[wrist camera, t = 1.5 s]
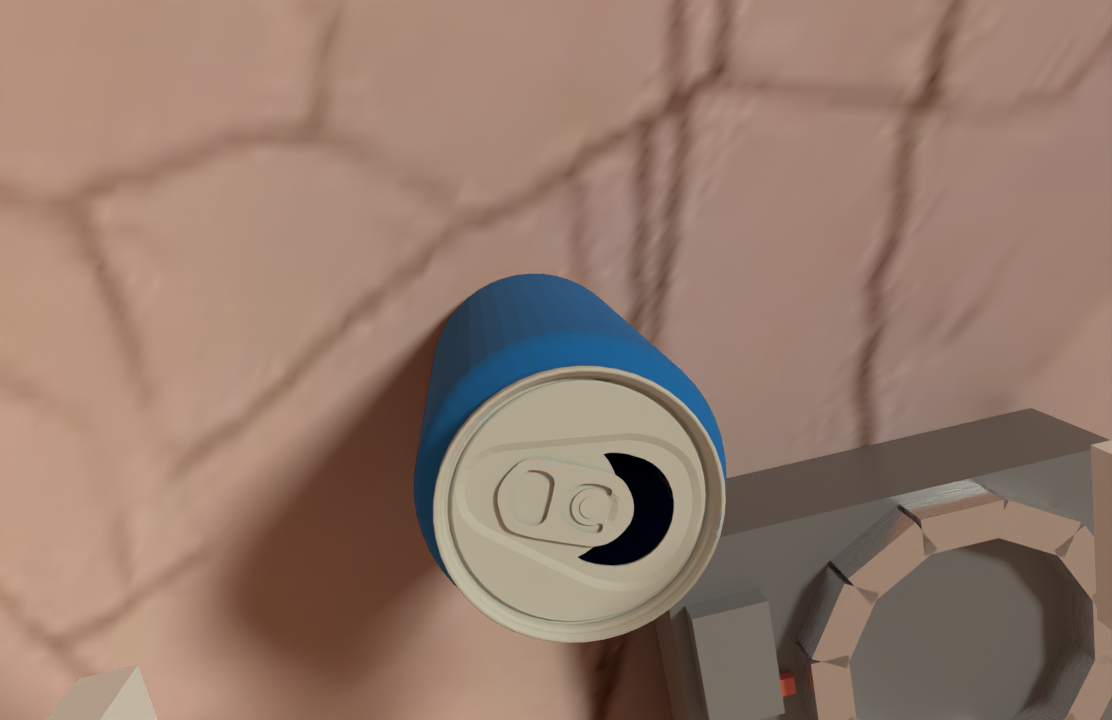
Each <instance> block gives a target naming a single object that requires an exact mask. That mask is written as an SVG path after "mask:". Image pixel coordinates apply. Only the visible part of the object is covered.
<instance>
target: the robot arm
mask: <svg viewBox="0 0 1112 720" xmlns="http://www.w3.org/2000/svg"><path fill="white" fill-rule="evenodd" d="M1091 470H1092V496H1093V522H1094V548H1095V574H1096V600H1097V620H1099V621H1100V622H1102V623H1103V624H1104V625H1106V626H1107V627H1109V628H1110V629H1111V630H1112V440H1110V441H1105V442H1101V443H1097V444H1092V445H1091ZM46 720H158V719H157V716H156V713H155V711H154V708H153V705H152V703H151V700H150V697H149V694H148V692H147V689H146V686H145V684H144V681H143V678H142V675H141V673H140V670H139V667H138V665H136V666H132V667H127V668H123V669H119V670H114V671H110V672H106V673H101V674H97V675H93V676H88V677H84V678H80V679H78V680H77V681H76V682H75V684H74V685H73V686H72V687H71V689H70V690H69V691H68V692H67V694H66V695H65V696H64V698H63V699H62V700H61V701H60V703H59V704H58V705H57V706H56V708H55V709H54V710H53V712H52V713H51V714H50V715H49V717H48V718H47V719H46Z"/></svg>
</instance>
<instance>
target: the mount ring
mask: <svg viewBox="0 0 1112 720" xmlns="http://www.w3.org/2000/svg"><path fill="white" fill-rule="evenodd" d="M997 538H1001V539H1004V540H1007V541H1011V542H1014V543H1017V544H1021V545H1024V546H1027V547H1031V548H1034V549H1037V550H1040V551H1041V552H1042V553H1043V555H1044V556H1045V557H1046V558H1047V560H1048V561H1049V562H1050V564H1051V565H1052V566H1053V567H1054V569H1055V570H1056V571H1057V573H1058V574H1059V575H1060V576H1061V578H1062V579H1063V580H1064V582H1065V593H1066V613H1067V634H1068V640H1067V642H1066V644H1065V646H1064V648H1063V650H1062V652H1061V654H1060V656H1059V658H1058V660H1057V662H1056V664H1055V666H1054V668H1053V670H1052V672H1051V674H1050V676H1049V678H1048V680H1047V682H1046V684H1045V686H1044V688H1043V690H1042V692H1041V695H1039V696H1038V697H1037V698H1036V699H1034V700H1033V701H1032V702H1031V703H1029V704H1028V705H1027V706H1026V707H1024V708H1023V709H1022V710H1021V711H1019V712H1018V713H1017V714H1016V715H1014V716H1013V717H1012V718H1011V719H1010V720H1100V718H1101V716H1102V714H1103V712H1104V711H1105V709H1106V707H1107V705H1108V703H1109V701H1110V699H1111V697H1112V630H1111V629H1110V628H1109V627H1107V626H1106V625H1104V624H1103V623H1102V622H1100V621H1099V620H1097V600H1096V574H1095V548H1094V536H1093V535H1092V534H1091V532H1090V531H1089V530H1088V528H1087V527H1086V526H1085V525H1084V524H1082V523H1081V522H1079V521H1078V520H1076V519H1074V518H1072V517H1070V516H1069V515H1067V514H1065V513H1063V512H1061V511H1060V510H1058V509H1056V508H1054V507H1052V506H1049V505H1045V504H1042V503H1039V502H1036V501H1033V500H1029V499H1026V498H1023V497H1020V496H1017V495H1013V494H1010V493H1007V492H1004V491H1001V490H997V489H994V488H991V487H988V486H983V488H982V487H981V486H979V485H977V486H973V487H969V488H965V489H960V490H956V491H952V492H948V493H943V494H939V495H935V496H931V497H927V498H922V499H918V500H914V501H910V502H906V503H901V504H900V510H899V509H897V508H896V507H893V508H892V509H891V510H890V511H889V512H887V513H886V514H885V515H884V516H883V517H881V518H880V519H879V520H878V521H877V522H875V523H874V524H873V525H872V526H871V527H870V528H868V529H867V530H866V531H865V532H864V533H862V534H861V535H860V536H859V537H858V538H856V539H855V540H854V541H853V542H852V543H850V544H849V545H848V546H847V547H846V548H844V549H843V550H842V551H841V552H840V553H839V554H837V555H836V556H835V557H834V558H833V559H831V560H830V561H831V562H832V563H833V564H834V565H835V566H836V567H832V566H829V565H827V566H826V568H825V570H824V573H823V575H822V577H821V580H820V582H819V584H818V587H817V589H816V592H815V594H814V596H813V599H812V601H811V603H810V606H809V608H808V610H807V613H806V615H805V617H804V620H803V622H802V624H801V627H800V629H799V631H798V634H797V636H796V638H797V640H798V641H799V642H795V644H796V651H797V658H798V666H799V673H800V680H801V687H802V694H803V701H804V708H805V712H806V714H807V717H808V718H809V720H860V719H859V718H858V717H857V716H856V712H855V704H854V696H853V688H852V680H851V672H850V664H849V661H850V659H851V656H852V654H853V652H854V650H855V647H856V645H857V643H858V641H859V638H860V636H861V634H862V632H863V629H864V627H865V625H866V622H867V620H868V618H869V616H870V613H871V611H872V609H873V607H874V604H875V602H876V600H877V599H878V598H879V597H881V596H882V595H883V594H884V593H886V592H887V591H888V590H889V589H890V588H892V587H893V586H894V585H895V584H896V583H898V582H899V581H900V580H901V579H902V578H904V577H905V576H906V575H907V574H908V573H910V572H911V571H912V570H913V569H914V568H916V567H917V566H918V565H919V564H920V563H922V562H923V561H924V560H925V559H926V558H928V557H929V556H930V555H931V554H935V553H939V552H943V551H947V550H951V549H955V548H959V547H964V546H968V545H972V544H976V543H980V542H984V541H988V540H992V539H997Z"/></svg>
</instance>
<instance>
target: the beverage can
mask: <svg viewBox="0 0 1112 720" xmlns="http://www.w3.org/2000/svg"><path fill="white" fill-rule="evenodd" d="M725 485H726V462H725V454H724V448H723V443H722V438H721V434H720V431H719V429H718V426H717V423H716V420H715V417H714V415H713V413H712V411H711V409H710V407H709V405H708V403H707V401H706V400H705V398H704V397H703V396H702V394H701V393H700V391H699V390H698V388H697V387H696V385H695V384H694V383H693V382H692V381H691V380H690V379H689V378H688V377H687V376H686V375H685V374H684V372H683V371H682V370H680V369H679V368H678V367H677V366H676V365H675V364H674V363H673V362H671V361H670V360H669V359H668V358H667V357H666V356H665V355H663V354H662V353H661V352H660V351H659V350H658V349H657V348H656V347H654V346H653V345H652V344H651V343H650V342H649V341H648V340H646V339H645V338H644V337H643V336H642V335H641V334H640V333H639V332H637V331H636V330H635V329H634V328H633V327H632V326H631V325H629V324H628V323H627V322H626V321H625V320H624V319H623V318H622V317H620V316H619V315H618V314H617V313H616V312H615V311H614V310H612V309H611V308H610V307H609V306H608V305H607V304H606V303H605V302H603V301H602V300H601V299H600V298H599V297H597V296H596V295H595V294H594V293H593V292H591V291H589V290H588V289H586V288H585V287H583V286H581V285H579V284H577V283H575V282H573V281H570V280H568V279H564V278H561V277H558V276H552V275H546V274H523V275H515V276H511V277H507V278H503V279H501V280H498V281H495V282H493V283H490V284H489V285H487V286H485V287H483V288H481V289H479V290H478V291H477V292H475V293H474V294H472V295H471V296H470V297H468V298H467V299H466V300H465V301H464V302H463V303H462V304H461V305H460V306H459V307H458V308H457V309H456V311H455V312H454V313H453V314H452V316H451V317H450V319H449V320H448V322H447V324H446V325H445V327H444V328H443V331H442V333H441V335H440V338H439V340H438V343H437V347H436V350H435V355H434V360H433V366H432V372H431V378H430V383H429V389H428V395H427V401H426V406H425V412H424V418H423V424H422V429H421V435H420V441H419V447H418V452H417V458H416V466H415V473H414V499H415V506H416V513H417V517H418V521H419V524H420V528H421V531H422V534H423V537H424V539H425V541H426V543H427V545H428V548H429V550H430V552H431V554H432V555H433V557H434V559H435V560H436V562H437V563H438V565H439V566H440V568H441V570H442V571H443V572H444V573H445V574H446V575H447V577H448V578H449V579H450V580H451V581H452V583H453V584H454V585H455V586H456V587H457V588H458V589H459V590H460V591H461V592H462V593H463V595H464V596H465V597H466V598H467V599H468V600H469V602H471V603H472V604H473V605H474V606H475V607H476V608H477V609H478V610H480V611H481V612H482V613H483V614H484V615H486V616H487V617H489V618H490V619H492V620H493V621H495V622H496V623H498V624H500V625H502V626H504V627H506V628H508V629H510V630H512V631H514V632H517V633H520V634H523V635H526V636H528V637H531V638H536V639H541V640H545V641H552V642H563V643H580V642H591V641H598V640H604V639H608V638H612V637H615V636H619V635H623V634H625V633H628V632H630V631H633V630H635V629H638V628H640V627H642V626H644V625H645V624H647V623H649V622H651V621H653V620H655V619H656V618H658V617H659V616H660V615H662V614H663V613H665V612H666V611H668V610H669V609H670V608H672V607H673V606H674V605H675V604H676V603H677V602H678V601H679V600H680V599H682V598H683V597H684V596H685V595H686V593H687V592H688V591H689V590H690V589H691V588H692V587H693V586H694V584H695V583H696V582H697V580H698V579H699V578H700V576H701V575H702V573H703V572H704V570H705V569H706V567H707V565H708V563H709V561H710V559H711V557H712V556H713V554H714V551H715V549H716V546H717V543H718V540H719V538H720V535H721V530H722V526H723V521H724V514H725V502H726V497H725Z"/></svg>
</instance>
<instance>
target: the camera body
mask: <svg viewBox="0 0 1112 720" xmlns="http://www.w3.org/2000/svg"><path fill="white" fill-rule="evenodd" d="M1105 441H1110V440H1109V439H1106V438H1104V437H1101V436H1099V435H1096V434H1094V433H1091V432H1089V431H1086V430H1084V429H1082V428H1079V427H1077V426H1074V425H1072V424H1069V423H1067V422H1064V421H1062V420H1059V419H1057V418H1054V417H1052V416H1049V415H1047V414H1044V413H1042V412H1039V411H1037V410H1035V409H1032V408H1030V409H1026V410H1022V411H1017V412H1013V413H1009V414H1004V415H1000V416H996V417H991V418H987V419H983V420H978V421H974V422H970V423H966V424H961V425H957V426H953V427H948V428H944V429H940V430H935V431H931V432H927V433H922V434H918V435H914V436H909V437H905V438H901V439H897V440H892V441H888V442H884V443H879V444H875V445H871V446H866V447H862V448H858V449H853V450H849V451H845V452H840V453H836V454H832V455H827V456H823V457H819V458H815V459H810V460H806V461H802V462H797V463H793V464H789V465H784V466H780V467H776V468H771V469H767V470H763V471H758V472H754V473H750V474H745V475H741V476H737V477H733V478H728V479H726V485H725V497H726V502H725V514H724V521H723V526H722V530H721V535H720V538H719V540H718V543H717V546H716V549H715V551H714V554H713V556H712V557H711V559H710V561H709V563H708V565H707V567H706V569H705V570H704V572H703V573H702V575H701V576H700V578H699V579H698V580H697V582H696V583H695V584H694V586H693V587H692V588H691V589H690V590H689V591H688V592H687V593H686V595H685V596H684V597H683V598H682V599H680V600H679V601H678V602H677V603H676V604H675V605H674V606H673V607H672V608H670V609H669V610H668V611H666V612H665V613H663V614H662V615H660V616H659V617H658V618H656V619H655V625H656V631H657V636H658V641H659V646H660V652H661V657H662V662H663V668H664V673H665V678H666V684H667V689H668V694H669V700H670V705H671V710H672V716H673V720H809V718H808V717H807V714H806V712H805V708H804V701H803V694H802V687H801V680H800V673H799V666H798V658H797V651H796V644H795V642H799V641H798V640H797V638H796V636H797V634H798V631H799V629H800V627H801V624H802V622H803V620H804V617H805V615H806V613H807V610H808V608H809V606H810V603H811V601H812V599H813V596H814V594H815V592H816V589H817V587H818V584H819V582H820V580H821V577H822V575H823V573H824V570H825V568H826V566H827V565H829V566H832V567H836V566H835V565H834V564H833V563H832V562H831V561H830V560H831V559H833V558H834V557H835V556H836V555H837V554H839V553H840V552H841V551H842V550H843V549H844V548H846V547H847V546H848V545H849V544H850V543H852V542H853V541H854V540H855V539H856V538H858V537H859V536H860V535H861V534H862V533H864V532H865V531H866V530H867V529H868V528H870V527H871V526H872V525H873V524H874V523H875V522H877V521H878V520H879V519H880V518H881V517H883V516H884V515H885V514H886V513H887V512H889V511H890V510H891V509H892V508H893V507H896V508H897V509H899V510H900V504H901V503H906V502H910V501H914V500H918V499H922V498H927V497H931V496H935V495H939V494H943V493H948V492H952V491H956V490H960V489H965V488H969V487H973V486H977V485H979V486H981V487H982V488H983V486H988V487H991V488H994V489H997V490H1001V491H1004V492H1007V493H1010V494H1013V495H1017V496H1020V497H1023V498H1026V499H1029V500H1033V501H1036V502H1039V503H1042V504H1045V505H1049V506H1052V507H1054V508H1056V509H1058V510H1060V511H1061V512H1063V513H1065V514H1067V515H1069V516H1070V517H1072V518H1074V519H1076V520H1078V521H1079V522H1081V523H1082V524H1084V525H1085V526H1086V527H1087V528H1088V530H1089V531H1090V532H1091V534H1092V535H1093V536H1094V522H1093V496H1092V470H1091V445H1092V444H1097V443H1101V442H1105ZM1067 640H1068V634H1067V613H1066V593H1065V582H1064V580H1063V579H1062V578H1061V576H1060V575H1059V574H1058V573H1057V571H1056V570H1055V569H1054V567H1053V566H1052V565H1051V564H1050V562H1049V561H1048V560H1047V558H1046V557H1045V556H1044V555H1043V553H1042V552H1041V551H1040V550H1037V549H1034V548H1031V547H1027V546H1024V545H1021V544H1017V543H1014V542H1011V541H1007V540H1004V539H1001V538H997V539H992V540H988V541H984V542H980V543H976V544H972V545H968V546H964V547H959V548H955V549H951V550H947V551H943V552H939V553H935V554H931V555H930V556H929V557H928V558H926V559H925V560H924V561H923V562H922V563H920V564H919V565H918V566H917V567H916V568H914V569H913V570H912V571H911V572H910V573H908V574H907V575H906V576H905V577H904V578H902V579H901V580H900V581H899V582H898V583H896V584H895V585H894V586H893V587H892V588H890V589H889V590H888V591H887V592H886V593H884V594H883V595H882V596H881V597H879V598H878V599H877V600H876V602H875V604H874V607H873V609H872V611H871V613H870V616H869V618H868V620H867V622H866V625H865V627H864V629H863V632H862V634H861V636H860V638H859V641H858V643H857V645H856V647H855V650H854V652H853V654H852V656H851V659H850V661H849V664H850V672H851V680H852V688H853V696H854V704H855V712H856V716H857V717H858V718H859V719H860V720H1010V719H1011V718H1012V717H1013V716H1014V715H1016V714H1017V713H1018V712H1019V711H1021V710H1022V709H1023V708H1024V707H1026V706H1027V705H1028V704H1029V703H1031V702H1032V701H1033V700H1034V699H1036V698H1037V697H1038V696H1039V695H1041V692H1042V690H1043V688H1044V686H1045V684H1046V682H1047V680H1048V678H1049V676H1050V674H1051V672H1052V670H1053V668H1054V666H1055V664H1056V662H1057V660H1058V658H1059V656H1060V654H1061V652H1062V650H1063V648H1064V646H1065V644H1066V642H1067ZM1100 720H1112V697H1111V699H1110V701H1109V703H1108V705H1107V707H1106V709H1105V711H1104V712H1103V714H1102V716H1101V718H1100Z"/></svg>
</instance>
